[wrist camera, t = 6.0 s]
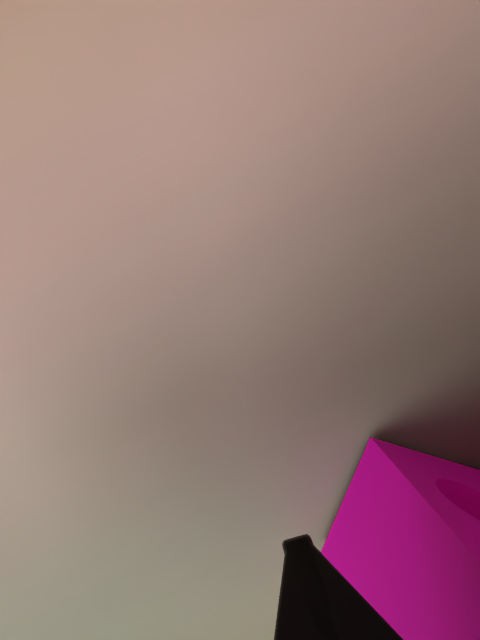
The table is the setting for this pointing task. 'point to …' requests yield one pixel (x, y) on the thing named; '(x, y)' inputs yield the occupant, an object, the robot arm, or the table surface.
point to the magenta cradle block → (412, 541)
